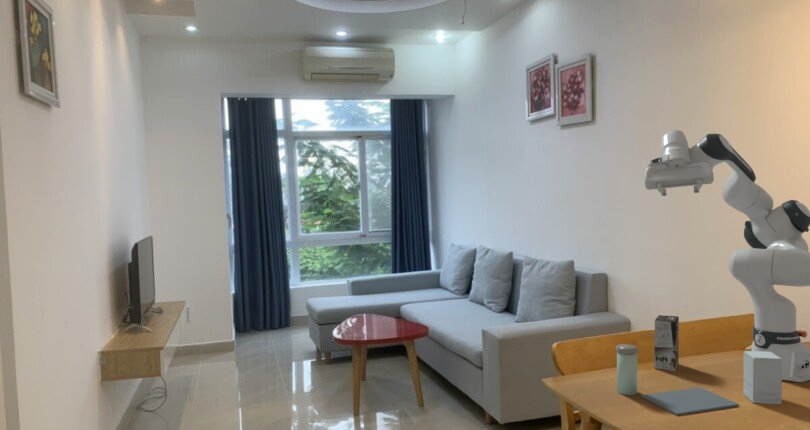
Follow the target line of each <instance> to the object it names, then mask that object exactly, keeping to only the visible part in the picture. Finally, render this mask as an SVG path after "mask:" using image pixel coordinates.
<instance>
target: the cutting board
mask: <svg viewBox="0 0 810 430" xmlns="http://www.w3.org/2000/svg"><path fill="white" fill-rule="evenodd" d="M640 396H641V399H644V400H646V401H648V402H649V403H652V404H654V405H656V406H658V407H659V408H662V409H663V410H665V411H667V412H669V413H671V414H673V415H675V416H683V415H688V414H689V415H690V414H695V413H697V414H698V413H702V412H709V411H715V410H717V411H718V410H722V409H730V408H735V407H739V406H740V404H739V403H738V402H735V401H733V400H730V399H728V398H726V397H724V396H721V395H719V394H716V393H715V392H712V391H710V390H707V389H705V388H703V387H700V386H698V387H690V388H684V389H678V390H677V389H676V390H670V391H662V392H655V393H654V392H653V393H648V394H641V395H640Z"/></svg>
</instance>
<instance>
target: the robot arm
mask: <svg viewBox="0 0 810 430" xmlns="http://www.w3.org/2000/svg"><path fill="white" fill-rule="evenodd" d="M659 147H660V156H659V157H656V158H653V159H651V160H649V161H647V162H648V163H647V168H646V169H645V173H644V187H645V189H646V190H649V191H651V190H657V191H658V192H659V193H660V195H661V197H665V196H667V195H668V194H667V189H672V188H682V187H690V186H693V192H694V194H696V193H697V194H699V193H700V189H701V188H702V187H703V185H711V184H713V183H714V180H715V179H714V177H715V176H714V171H713V168H714V167H716V166H717V165H719V164H721V163H726V164H727V165H728V166H729V167H730V168H731V169H732V170H733V171H732V173H731V174H730V175H729V176H728V177H727V178H726V180H725V181H724V182H723V185H722V188H721V196H722V199H723V201H724V202H725V203H726V204H727V205H728V206H730V207H731V208H733V209H734V210H736V211H737V212H740V213H742V214H744V215H745V216H746V217H748V219H749V220H746V221H745V222H744V226H745V227H744V229H743V238H744V240H745V242H746V243H747V245H748V246H750V247H751V248H743V249H738V250H735V251H734V252H733V253H732V255H730V257H729V261H728V269H729V271H730V274H731V275H732V277H733V278H734V280H736V281H738V282H739V283H741V285H742V286H743V287H744V288H745V289H746V290H747V292H748V294H749V295H750V298H751V301H752V303H753V314H754V315H753V316H754V317H753V318H754V319H753V321H754V325H753V327H752V339H753V341H752V343H751V350H750V351H764V352H772V353H774V354H775V355H777V356H778V357H780V358H781V359H782V381H791V382H796V383H805V382H807V381H810V348H809V347H808V346H807V345H806V344H804V343H803V342H802V340H801V337H802V338H805V339H806V338H807V336H808V332H807V330H802V329H799V330H797V307H796V305H795V303H794V302H793V301H792V300H791V299H789V298H787V297H785V296H783V295H782V294H780V293H778V291H776V289H775V286H786V287H798V288H800V287H801V288H802V287H810V252H809V251H810V250H809V245H808V243H807V241H806V240H805V239H804V237H803V233H805V232H806V233H809V231H810V229H809V227H810V209H808V206H806V205H805V204H803V203H802V202H800V201H798V200H797V199H796V200H795V199H789V200H787V201H785V202H782V203H781V204H780V205H779V206H776V207H775V208H774V199H773V198H772V197H771V195H770V194H769V193H768V192H767V191H766V190H765V189H764V188H763V187H761V186H760V185H759V184H757V183H756V179H757V177H756V174H755V171H754V170H753V168H752V167H751V166H750V165H749V163H747V161H746V160H745V159H744V158H743V157H742V156H741V155H740V154H739V152H737V151H736V150H735V149H734V147H733V146H732V145H731V144H730V142H729V141H728V139H727V138H725V136H724V135H722V134H720V133H707V134H706V135H705V136H704V137H703V138H701V139H700V140H699V141H698V142H697V143H695V144H694V145H693V146H691V147H690V146H689V143H688V140H687V136H686V135H685V134H684V132H683V131H682V130H679V129H678V130H677V129H674V130H670V131H667V132H666V133H665V134H663V136H662V137H661V139H660V145H659Z"/></svg>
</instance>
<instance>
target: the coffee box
mask: <svg viewBox="0 0 810 430" xmlns="http://www.w3.org/2000/svg"><path fill="white" fill-rule="evenodd" d="M679 323H680V320H679V316H677V315H661V314H659V315H658V316H657V317H656V318H655V319H654V369H657V370H665V371H671V372H675V371H676V370H677V367H678V366H679V362H680V361H679V359H680V358H679V356H680V353H679V352H680V349H679V347H680V346H679V341H680V339H679V335H680V332H679V328H680V327H679V326H680V325H679Z"/></svg>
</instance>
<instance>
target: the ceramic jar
mask: <svg viewBox="0 0 810 430" xmlns="http://www.w3.org/2000/svg"><path fill="white" fill-rule="evenodd" d="M615 351H616V392H617V393H618V394H621V395H624V396H636V395H637V394H638V353H639V347H638V346H636V345H633V344H625V343H624V344H623V343H621V344H617V345H615ZM635 394H636V395H635Z"/></svg>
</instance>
